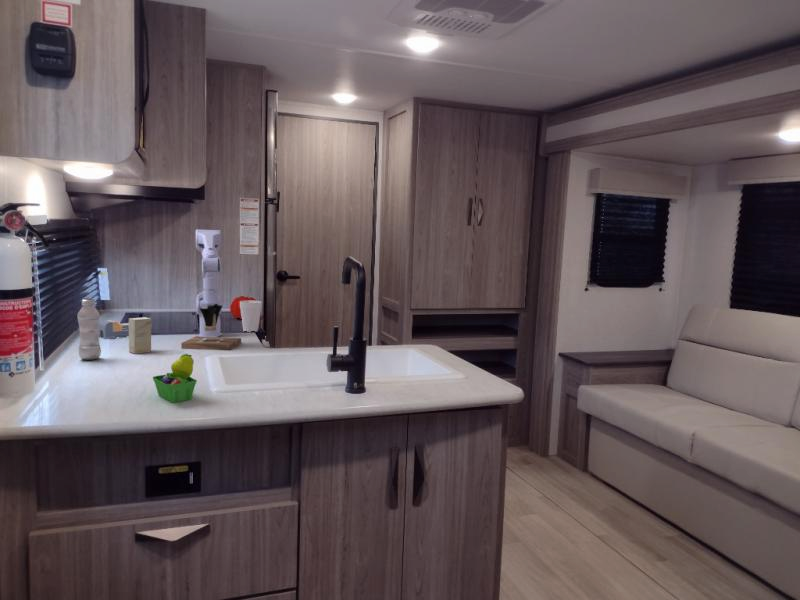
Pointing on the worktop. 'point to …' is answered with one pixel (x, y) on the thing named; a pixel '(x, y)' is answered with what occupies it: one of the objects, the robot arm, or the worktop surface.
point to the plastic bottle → (89, 330)
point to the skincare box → (139, 335)
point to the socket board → (211, 343)
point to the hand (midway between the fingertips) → (211, 325)
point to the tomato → (238, 306)
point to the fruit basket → (177, 381)
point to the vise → (112, 329)
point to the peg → (213, 327)
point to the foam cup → (250, 315)
